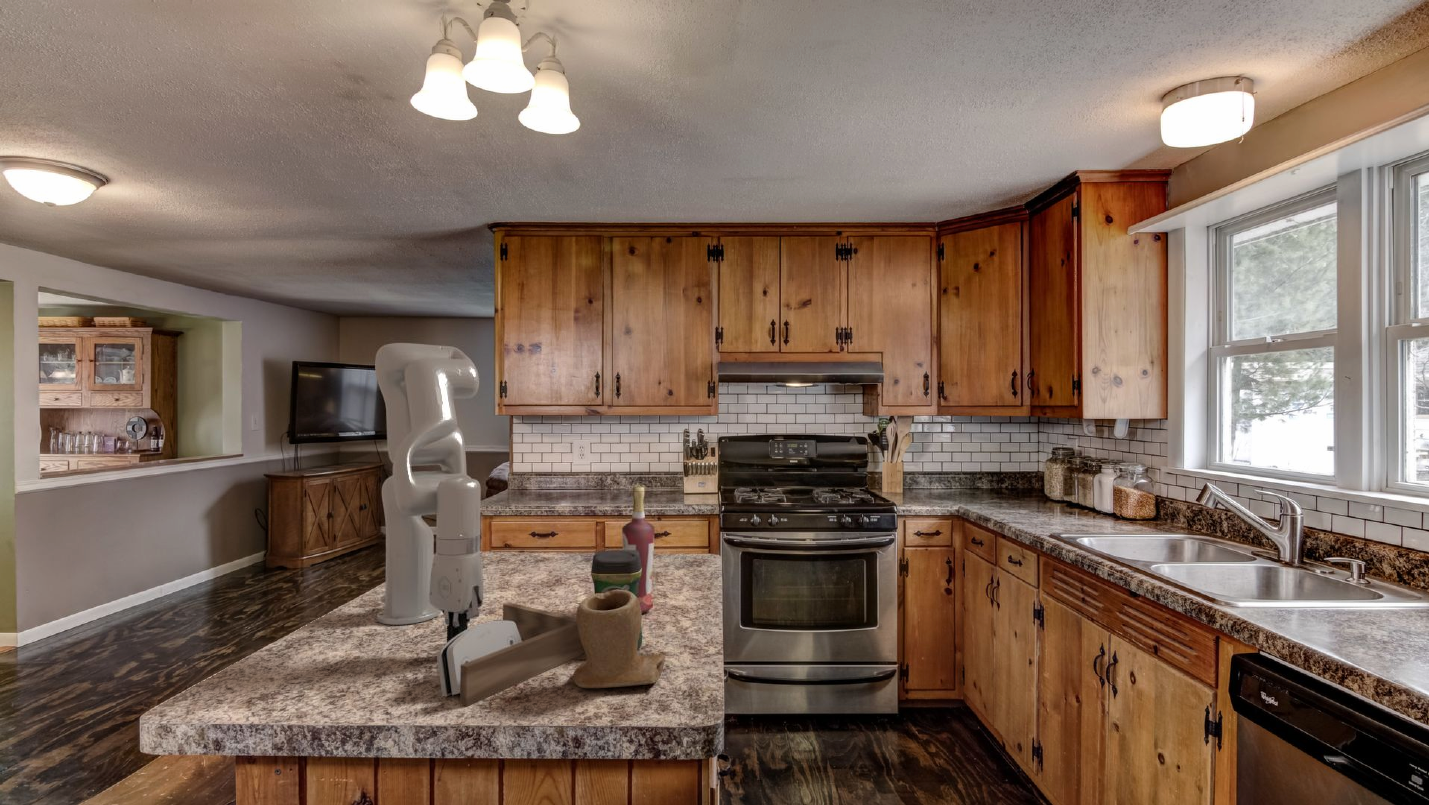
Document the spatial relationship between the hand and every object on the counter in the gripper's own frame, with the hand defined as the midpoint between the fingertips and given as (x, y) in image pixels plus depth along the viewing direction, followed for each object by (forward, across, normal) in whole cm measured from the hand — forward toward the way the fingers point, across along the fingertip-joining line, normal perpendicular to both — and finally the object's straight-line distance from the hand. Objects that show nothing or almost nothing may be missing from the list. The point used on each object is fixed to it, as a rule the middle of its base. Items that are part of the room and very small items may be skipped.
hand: (457, 645), depth 118 cm
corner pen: (+2, +8, +1) cm, 9 cm away
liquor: (+2, +11, +39) cm, 41 cm away
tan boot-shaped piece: (+2, +33, +7) cm, 34 cm away
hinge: (+2, +12, -4) cm, 13 cm away
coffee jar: (+2, +22, +19) cm, 29 cm away
